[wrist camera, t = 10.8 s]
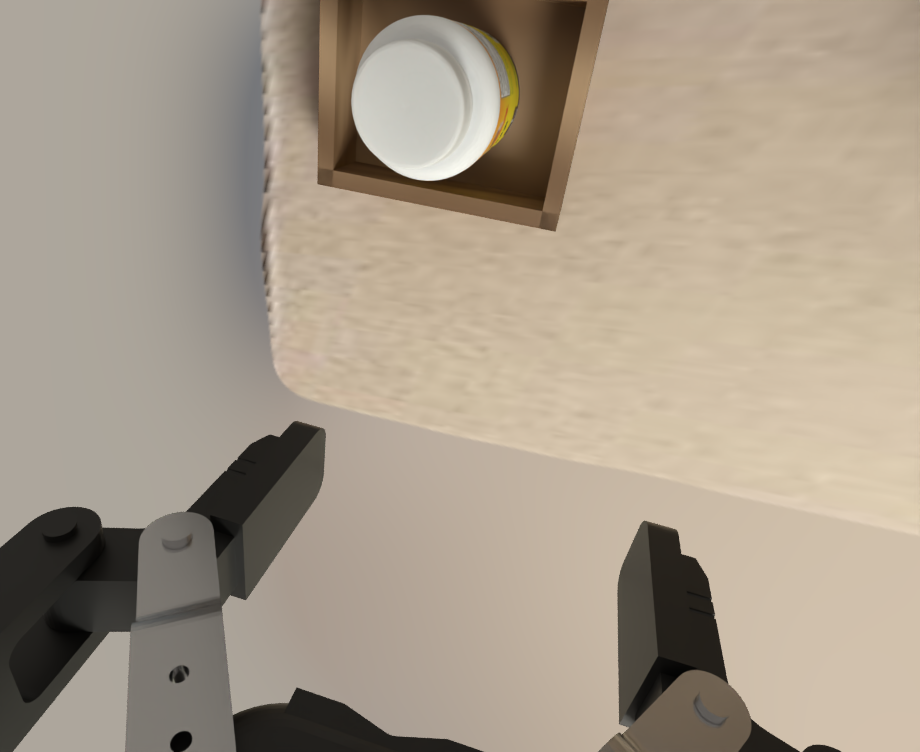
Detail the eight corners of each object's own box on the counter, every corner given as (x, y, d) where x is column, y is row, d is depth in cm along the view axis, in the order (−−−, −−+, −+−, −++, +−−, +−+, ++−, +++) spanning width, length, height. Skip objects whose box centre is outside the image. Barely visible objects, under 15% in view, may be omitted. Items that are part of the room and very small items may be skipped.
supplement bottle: (440, 172, 30) (374, 218, 21) (391, 62, 28) (296, 62, 19) (540, 125, 28) (514, 154, 19) (495, 2, 26) (443, -29, 17)
